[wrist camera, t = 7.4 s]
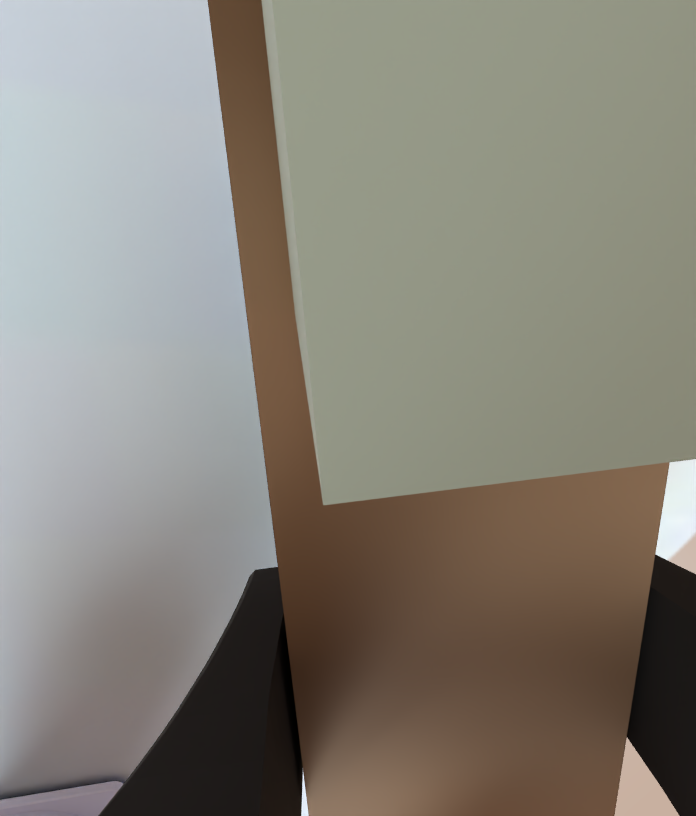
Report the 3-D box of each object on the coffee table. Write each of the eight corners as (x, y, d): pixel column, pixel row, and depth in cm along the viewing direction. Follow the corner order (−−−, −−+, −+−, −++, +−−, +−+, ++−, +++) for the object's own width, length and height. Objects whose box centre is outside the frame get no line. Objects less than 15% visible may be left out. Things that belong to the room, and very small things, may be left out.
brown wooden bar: (501, 882, 16) (571, 1090, 12) (332, 912, 15) (349, 1140, 11) (562, -196, 8) (837, -610, 4) (207, -199, 7) (124, -670, 3)
